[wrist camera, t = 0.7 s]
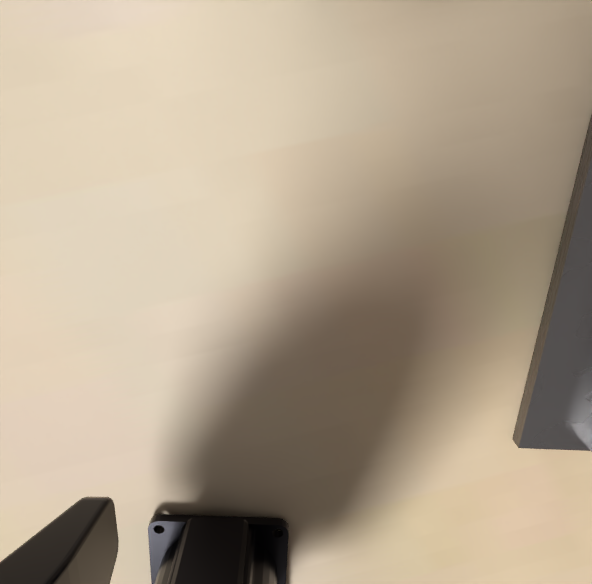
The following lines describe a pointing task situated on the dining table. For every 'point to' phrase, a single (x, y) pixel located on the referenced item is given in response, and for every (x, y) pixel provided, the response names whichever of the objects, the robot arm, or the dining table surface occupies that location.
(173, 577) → the robot arm
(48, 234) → the dining table surface
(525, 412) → the vise clamping cylinder
